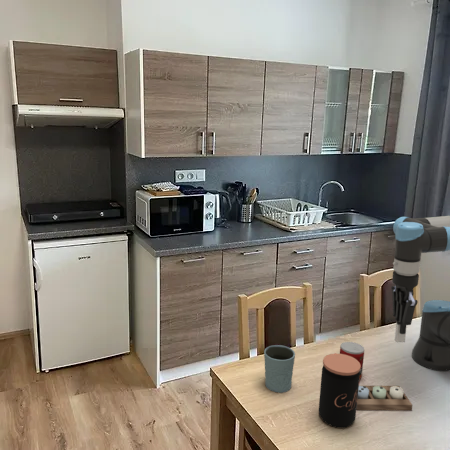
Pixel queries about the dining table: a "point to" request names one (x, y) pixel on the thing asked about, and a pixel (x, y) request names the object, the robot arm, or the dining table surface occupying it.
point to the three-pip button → (363, 392)
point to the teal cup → (278, 368)
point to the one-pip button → (396, 392)
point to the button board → (383, 402)
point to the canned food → (353, 352)
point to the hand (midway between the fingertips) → (399, 341)
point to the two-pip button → (379, 392)
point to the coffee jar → (339, 390)
